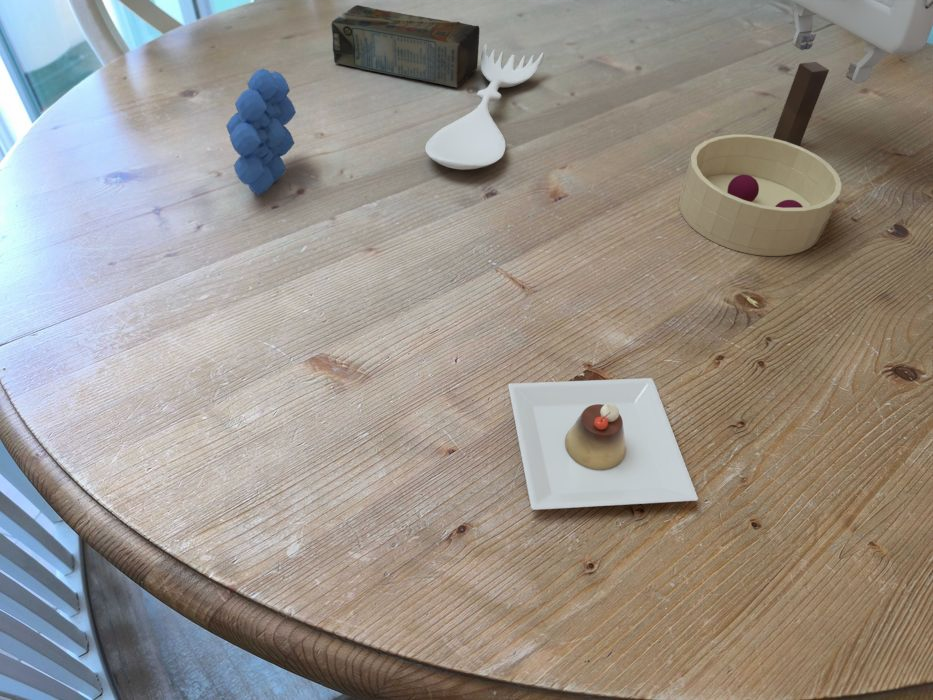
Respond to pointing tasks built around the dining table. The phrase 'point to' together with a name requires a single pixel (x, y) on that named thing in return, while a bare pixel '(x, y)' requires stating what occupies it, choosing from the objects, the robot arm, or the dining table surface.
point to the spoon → (480, 119)
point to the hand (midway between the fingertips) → (827, 63)
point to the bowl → (779, 178)
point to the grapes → (262, 130)
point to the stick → (801, 102)
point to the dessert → (597, 444)
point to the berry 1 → (744, 187)
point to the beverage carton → (406, 45)
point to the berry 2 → (789, 204)
